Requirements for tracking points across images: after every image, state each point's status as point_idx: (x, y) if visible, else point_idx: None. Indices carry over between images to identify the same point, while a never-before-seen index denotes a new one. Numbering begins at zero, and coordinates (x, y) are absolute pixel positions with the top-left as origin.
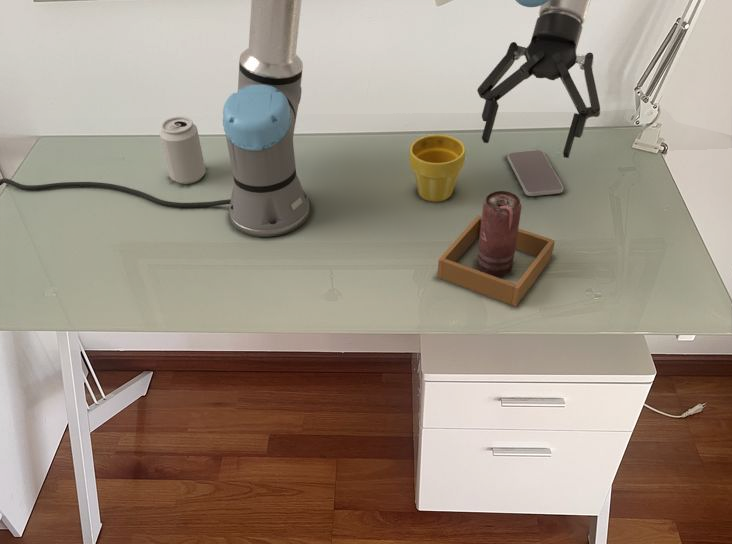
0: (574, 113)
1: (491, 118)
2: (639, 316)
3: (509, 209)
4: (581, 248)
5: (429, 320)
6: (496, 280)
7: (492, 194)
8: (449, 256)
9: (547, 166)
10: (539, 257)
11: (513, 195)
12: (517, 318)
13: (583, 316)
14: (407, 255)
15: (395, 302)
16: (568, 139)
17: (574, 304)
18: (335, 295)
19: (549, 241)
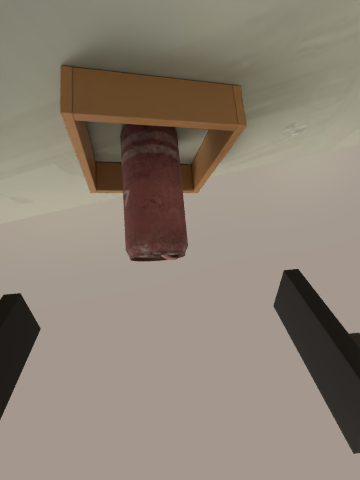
0: (353, 452)
1: (8, 400)
2: (340, 140)
3: (174, 259)
4: (319, 27)
5: (122, 193)
6: None
7: (134, 254)
8: (94, 178)
9: None
10: (218, 160)
11: (169, 250)
12: None
13: (270, 156)
14: (17, 150)
15: (79, 191)
16: (297, 340)
17: (263, 148)
18: (24, 200)
19: (235, 131)
